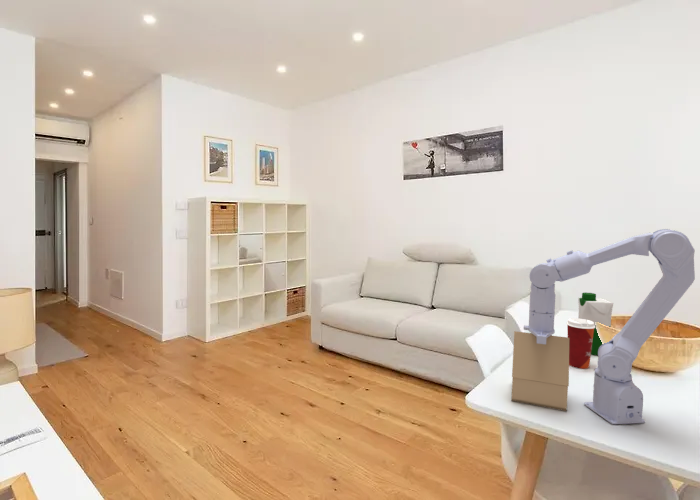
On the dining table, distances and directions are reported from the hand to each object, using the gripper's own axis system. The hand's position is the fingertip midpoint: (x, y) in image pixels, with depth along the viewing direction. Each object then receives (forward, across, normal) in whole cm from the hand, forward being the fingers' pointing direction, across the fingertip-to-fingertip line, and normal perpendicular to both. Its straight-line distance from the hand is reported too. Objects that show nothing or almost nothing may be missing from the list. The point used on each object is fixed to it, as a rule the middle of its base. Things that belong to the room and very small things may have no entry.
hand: (539, 363), depth 99 cm
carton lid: (-3, +4, 0) cm, 5 cm away
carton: (+8, +1, 0) cm, 8 cm away
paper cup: (+9, -28, +12) cm, 32 cm away
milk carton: (+9, -44, +17) cm, 48 cm away
